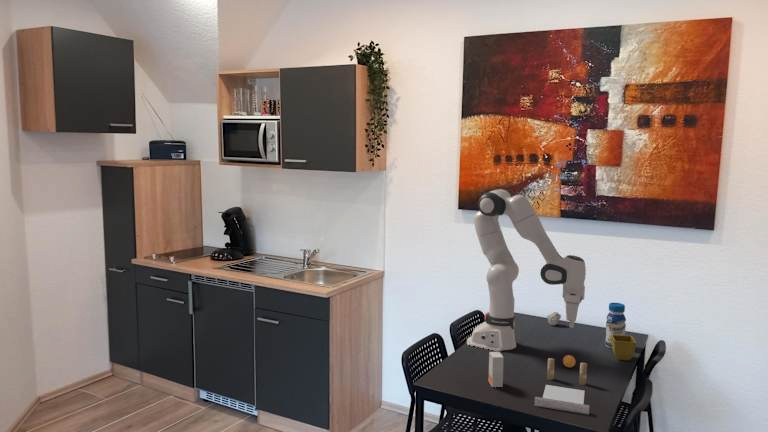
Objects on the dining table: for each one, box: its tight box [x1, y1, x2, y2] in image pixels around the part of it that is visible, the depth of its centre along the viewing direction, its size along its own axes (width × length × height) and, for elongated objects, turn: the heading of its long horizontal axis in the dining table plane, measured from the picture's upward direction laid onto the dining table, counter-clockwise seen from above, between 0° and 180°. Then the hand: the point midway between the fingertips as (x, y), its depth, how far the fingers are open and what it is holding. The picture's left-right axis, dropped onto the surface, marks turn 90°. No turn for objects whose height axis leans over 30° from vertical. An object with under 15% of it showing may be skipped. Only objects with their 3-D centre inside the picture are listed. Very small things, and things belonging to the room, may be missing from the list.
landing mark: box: [542, 384, 586, 405], centre depth 209 cm, size 14×14×1 cm
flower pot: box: [611, 335, 637, 361], centre depth 247 cm, size 9×9×9 cm
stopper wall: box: [533, 396, 590, 415], centre depth 197 cm, size 18×2×2 cm, turn 69°
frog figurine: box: [546, 311, 562, 326], centre depth 294 cm, size 6×7×7 cm
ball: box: [562, 354, 577, 369], centre depth 236 cm, size 5×5×5 cm
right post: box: [578, 362, 588, 386], centre depth 219 cm, size 2×2×8 cm
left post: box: [546, 357, 555, 381], centre depth 223 cm, size 2×2×8 cm
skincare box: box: [488, 351, 504, 389], centre depth 217 cm, size 6×4×12 cm
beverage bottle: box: [604, 302, 627, 349], centre depth 261 cm, size 8×8×20 cm
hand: (571, 325), depth 243 cm, fingers open, 3 cm apart
